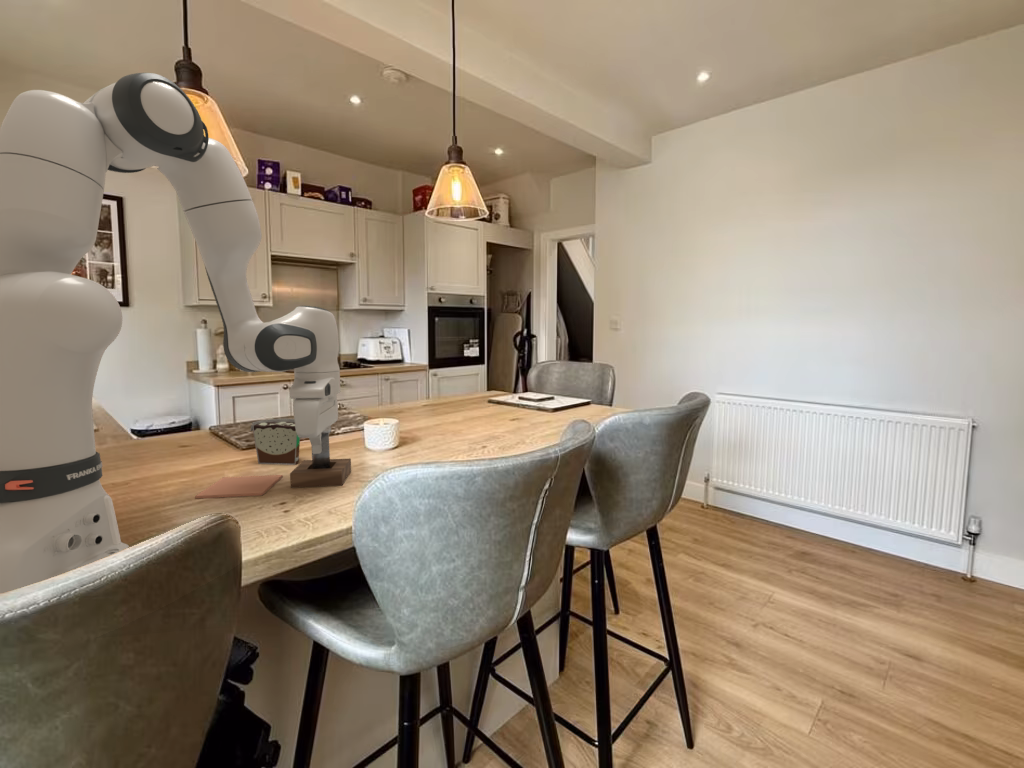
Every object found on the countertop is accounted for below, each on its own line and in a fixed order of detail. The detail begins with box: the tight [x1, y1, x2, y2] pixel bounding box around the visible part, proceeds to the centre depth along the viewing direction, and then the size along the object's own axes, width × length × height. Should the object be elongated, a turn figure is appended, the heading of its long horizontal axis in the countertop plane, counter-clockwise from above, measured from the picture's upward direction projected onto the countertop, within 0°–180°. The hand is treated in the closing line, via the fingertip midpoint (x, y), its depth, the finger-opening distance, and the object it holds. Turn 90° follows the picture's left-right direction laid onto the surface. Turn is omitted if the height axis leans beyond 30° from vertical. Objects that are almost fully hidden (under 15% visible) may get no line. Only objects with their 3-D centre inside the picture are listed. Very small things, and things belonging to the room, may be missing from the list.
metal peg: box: [310, 425, 332, 469], centre depth 103 cm, size 4×4×10 cm
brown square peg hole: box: [289, 458, 352, 489], centre depth 104 cm, size 10×10×3 cm
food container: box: [250, 418, 301, 466], centre depth 118 cm, size 12×6×10 cm, turn 84°
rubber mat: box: [194, 474, 284, 500], centre depth 99 cm, size 12×12×1 cm
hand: (320, 450), depth 103 cm, fingers closed on metal peg, 3 cm apart
